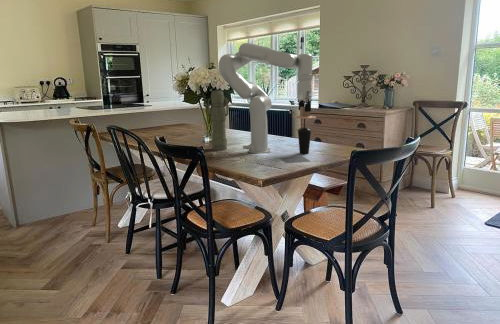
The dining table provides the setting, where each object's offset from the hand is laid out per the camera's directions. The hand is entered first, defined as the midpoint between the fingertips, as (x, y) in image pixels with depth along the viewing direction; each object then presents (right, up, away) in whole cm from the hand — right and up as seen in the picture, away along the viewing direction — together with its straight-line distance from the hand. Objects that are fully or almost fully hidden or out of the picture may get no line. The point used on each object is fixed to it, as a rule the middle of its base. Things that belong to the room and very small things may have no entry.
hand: (304, 110), depth 203 cm
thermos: (-48, -20, +25) cm, 57 cm away
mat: (-7, -27, -9) cm, 29 cm away
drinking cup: (+1, -23, +5) cm, 24 cm away
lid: (0, -4, +1) cm, 4 cm away
